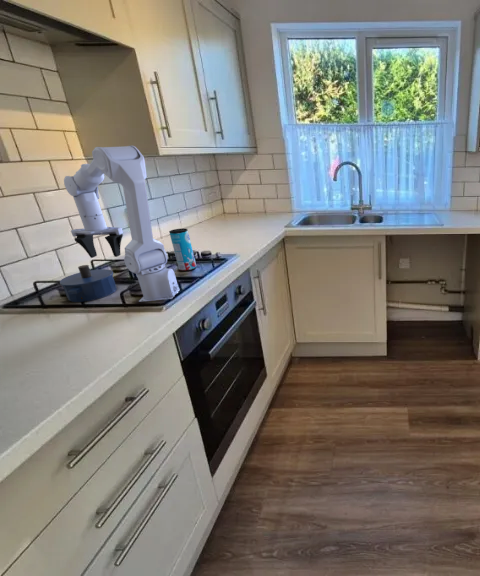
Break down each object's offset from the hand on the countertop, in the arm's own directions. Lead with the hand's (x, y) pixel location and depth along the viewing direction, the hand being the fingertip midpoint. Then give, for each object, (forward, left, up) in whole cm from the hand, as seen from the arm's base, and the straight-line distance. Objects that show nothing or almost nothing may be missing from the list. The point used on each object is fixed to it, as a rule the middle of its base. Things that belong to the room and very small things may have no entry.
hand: (105, 256), depth 119 cm
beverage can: (-20, -11, -11) cm, 25 cm away
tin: (+4, +6, -10) cm, 13 cm away
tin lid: (+4, +6, -5) cm, 9 cm away
